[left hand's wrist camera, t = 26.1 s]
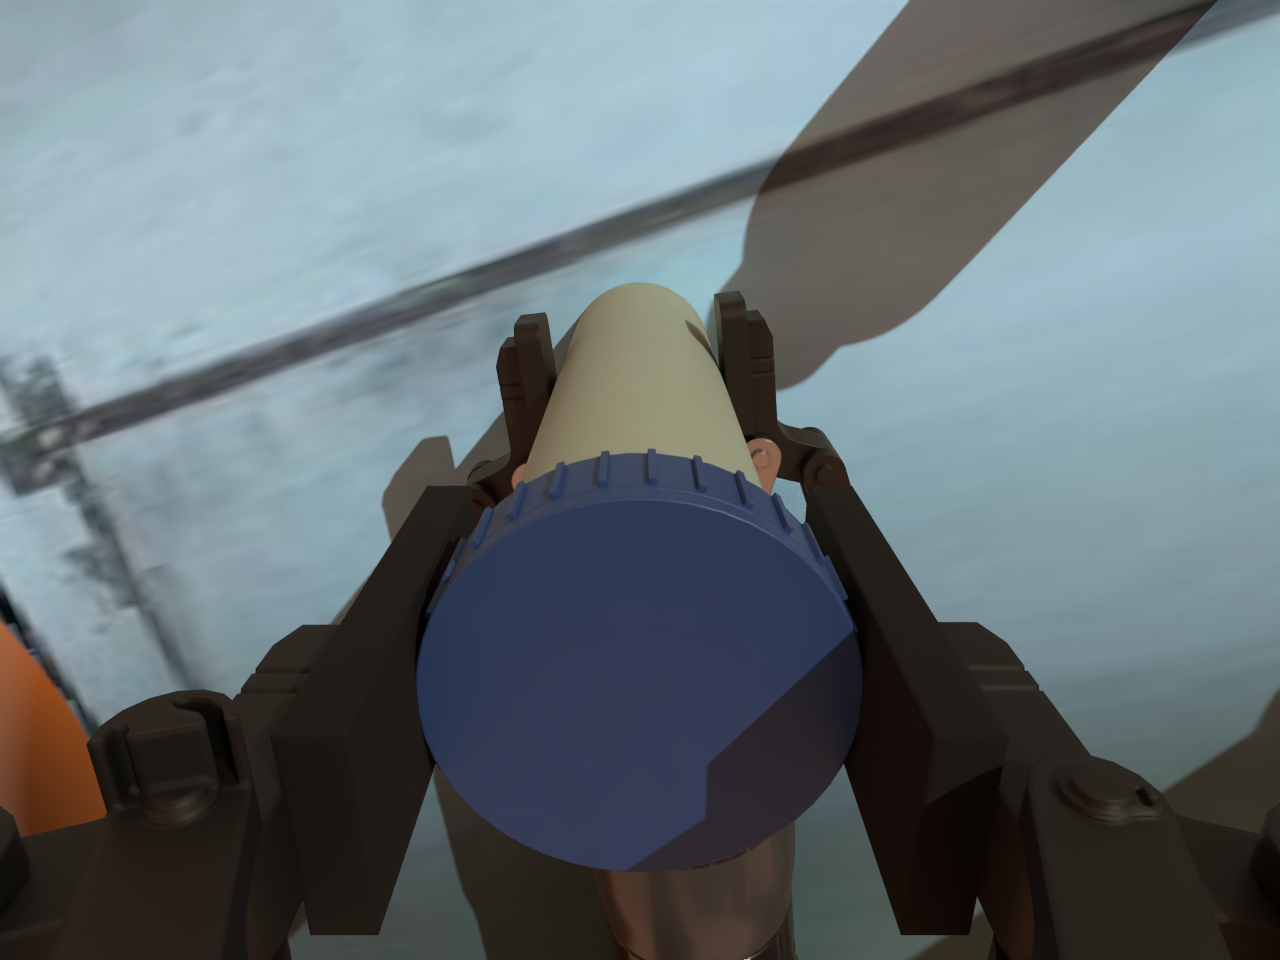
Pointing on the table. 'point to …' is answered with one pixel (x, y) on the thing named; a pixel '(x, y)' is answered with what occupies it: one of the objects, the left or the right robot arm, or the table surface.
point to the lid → (639, 665)
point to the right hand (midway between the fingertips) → (628, 310)
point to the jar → (640, 388)
